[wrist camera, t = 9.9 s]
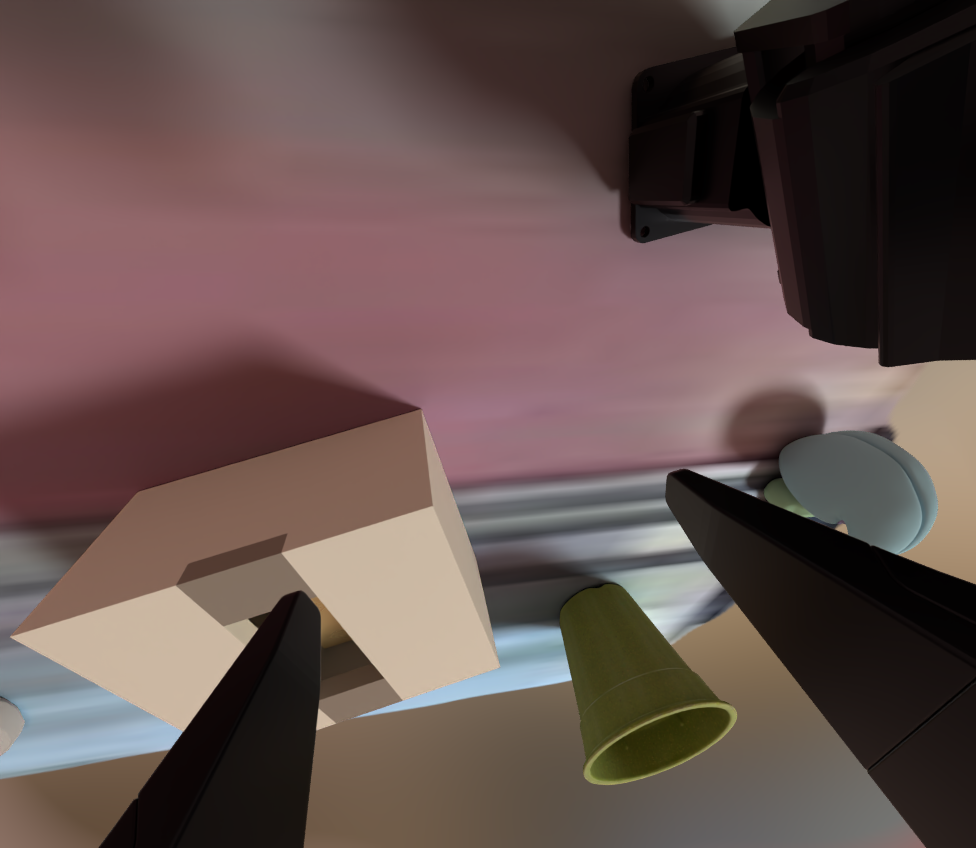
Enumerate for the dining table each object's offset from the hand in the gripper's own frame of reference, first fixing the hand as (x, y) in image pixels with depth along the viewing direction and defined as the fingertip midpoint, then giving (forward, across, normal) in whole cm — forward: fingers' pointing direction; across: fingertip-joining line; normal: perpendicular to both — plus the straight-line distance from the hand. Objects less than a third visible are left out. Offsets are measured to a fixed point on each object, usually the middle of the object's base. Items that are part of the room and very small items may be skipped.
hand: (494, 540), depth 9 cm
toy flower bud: (+13, -25, +19) cm, 34 cm away
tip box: (+13, +10, +10) cm, 19 cm away
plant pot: (+13, -7, +29) cm, 33 cm away
